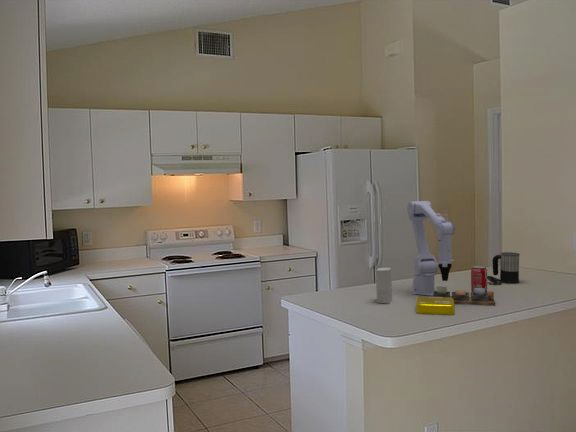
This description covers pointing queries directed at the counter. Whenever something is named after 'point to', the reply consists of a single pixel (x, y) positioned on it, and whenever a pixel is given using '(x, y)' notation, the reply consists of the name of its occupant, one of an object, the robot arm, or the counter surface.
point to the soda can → (478, 277)
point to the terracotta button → (460, 292)
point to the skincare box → (384, 285)
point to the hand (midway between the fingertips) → (444, 280)
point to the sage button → (441, 290)
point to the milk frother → (506, 268)
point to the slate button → (479, 291)
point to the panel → (469, 298)
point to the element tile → (435, 305)
